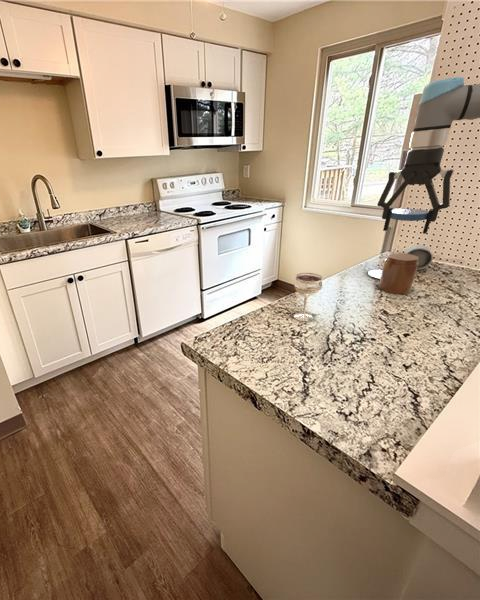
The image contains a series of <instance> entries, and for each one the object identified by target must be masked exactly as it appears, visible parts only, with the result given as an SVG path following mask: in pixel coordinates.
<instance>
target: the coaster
mask: <svg viewBox="0 0 480 600" xmlns="http://www.w3.org/2000/svg"><path fill="white" fill-rule="evenodd" d="M382 270H383V269H372V270H369V271H367V272H368V273H367V276H369V277H370V278H372V279H374V280H378V281H380V278H381V274H382Z"/></svg>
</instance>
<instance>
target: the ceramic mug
mask: <svg viewBox="0 0 480 600" xmlns="http://www.w3.org/2000/svg"><path fill="white" fill-rule="evenodd" d="M404 253H405V254H411V255H415V256H417V257H418V259H419V260H418V261H417V262H418V263H419V264H418V268H417V271H420V270H423V269H426V268H428V267H429V266H430V265H431V264H432V262H433V259H434V256H433V252H431V249H430V248H429V247H428V246H425V245H423V244H413V245H411V246H409V247H408V248H407V249H406V250H405V251H404Z"/></svg>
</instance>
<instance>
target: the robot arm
mask: <svg viewBox="0 0 480 600" xmlns="http://www.w3.org/2000/svg"><path fill="white" fill-rule="evenodd" d="M464 82H465V78H464V77H463V76H456V77H449V78H443V79H438V80H434V81H431V82H428V83H427V84H425V86H424V87H423V90H422V94H421V97H420V101H419V103H418V107H417V112H416V116H415V121H414V125H413V130H412V133H411V137H410V141H409V146H408V148H409V150H408V151H407V154H406V158H405V163H404V165H403V167H402V169H401V170H396V171H395V170H392V171H390V172H389V173H388V179H387V180H388V181H387V183H386V185H385V186H384V189H383V191H382V193H381V195H380V198H379V199H378V202H377V207H381V208H383V211H382V215H381V219H382V220H385V221H384V225H383V229H382V232H387V231H388V230H389V226H390V222H391V220H392V219H391V218H390V214H391V211H392V210H394V207H391V206H392V205H393V204H394V202H395V201H397V199H398V198H399V196H401V194H402V193H403V192H404V191H405V189H406V188H407V187H408V186H414V185H417V186H425V188H426V191H427V195H428V198H429V200H430V203H431V207H432V208H430V209H429V210H428V211H429V213H428V216H427V219H426V220H425V223H424V227H423V230H422V234H424V235H426V234H427V233H428V231H429V228H430V223H434V222H436V220H437V218H438V215H439V211H440V210H443V209H447V208H449V206H450V204H451V203H450V201H451V178H452V176H453V175H454V172H455V169H453V168H450V169H444V168H442V167H441V163H442V159H443V156H444V152H445V149H444V146H446V144H447V141H448V138H449V134H450V131H451V128H452V123H453V122H455V121H462V120H463V121H464V120H468V121H472V120H473V121H474V120H477V119H480V83H475V84H465V83H464ZM439 174H440V177H441V179H443V180H442V203H440V202H439V198H438V196H437V195H438V194H437V192H436V189H435V186H434V182H433V180H434V178H436V176H437V175H439ZM399 176H401V177H402V178H403V180H404V181H403V182H402V183H401V184H400V186H399V188H397V189H396V191H395V192H394V193H393V195H392V196H391V197H390V198H389V200H388V201H387V202H386V200H387V198H388V196H389V194H390V191H391V190H392V188H393V186H394V183H395V181H396V180H397V179H399Z"/></svg>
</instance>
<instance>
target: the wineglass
mask: <svg viewBox="0 0 480 600" xmlns="http://www.w3.org/2000/svg"><path fill="white" fill-rule="evenodd" d="M294 278H295V280H294V282H293V287H294V290H295V291H296V292H297V293H298V294H299V295H301V296H303V298H304V299H303V301H304V302H303V308H302V309H303V310H302V312H295V313H294V314H293V318H294V319H295V320H297V321H300V322H311V321H312V320H313V319H314V316H313V315H311V314H310V313H306V308H307V303H308V298H309V297H311V296H315V295H317V294H318V293H320V291H321V290H322V289H323V280H324V276H323V275H321V274H319V273H314V272H300V273H297V274H295V275H294Z"/></svg>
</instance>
